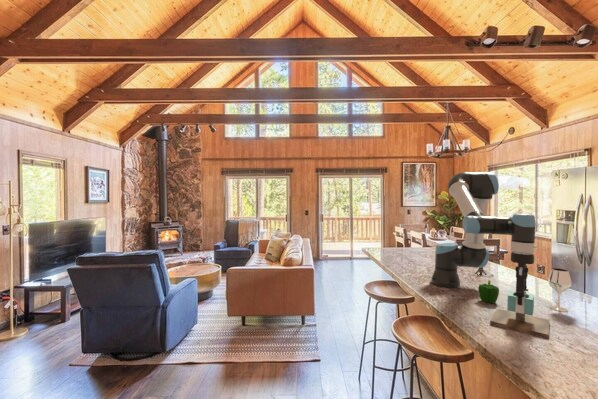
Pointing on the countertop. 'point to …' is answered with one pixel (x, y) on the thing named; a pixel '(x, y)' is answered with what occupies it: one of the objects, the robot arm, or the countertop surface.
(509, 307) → the bead
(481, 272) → the eiffel tower figurine
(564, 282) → the wineglass
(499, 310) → the post board
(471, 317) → the countertop surface
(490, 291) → the bell pepper
